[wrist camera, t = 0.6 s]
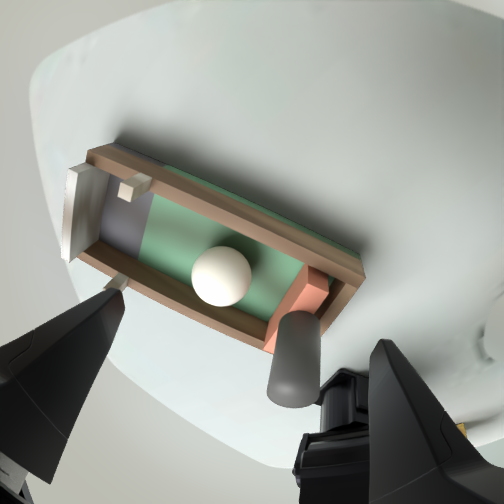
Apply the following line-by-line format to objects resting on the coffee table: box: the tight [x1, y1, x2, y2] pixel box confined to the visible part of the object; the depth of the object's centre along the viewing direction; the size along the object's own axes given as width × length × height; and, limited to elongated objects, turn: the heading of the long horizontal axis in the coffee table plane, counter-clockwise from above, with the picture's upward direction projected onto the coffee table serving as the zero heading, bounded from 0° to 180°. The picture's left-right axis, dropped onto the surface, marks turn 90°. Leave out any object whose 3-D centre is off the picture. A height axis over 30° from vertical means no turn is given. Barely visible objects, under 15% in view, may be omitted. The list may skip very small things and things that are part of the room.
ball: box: [191, 246, 252, 306], centre depth 22 cm, size 4×4×4 cm
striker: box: [263, 263, 329, 408], centre depth 20 cm, size 7×3×10 cm, turn 157°
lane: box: [61, 142, 366, 354], centre depth 22 cm, size 10×22×6 cm, turn 67°
